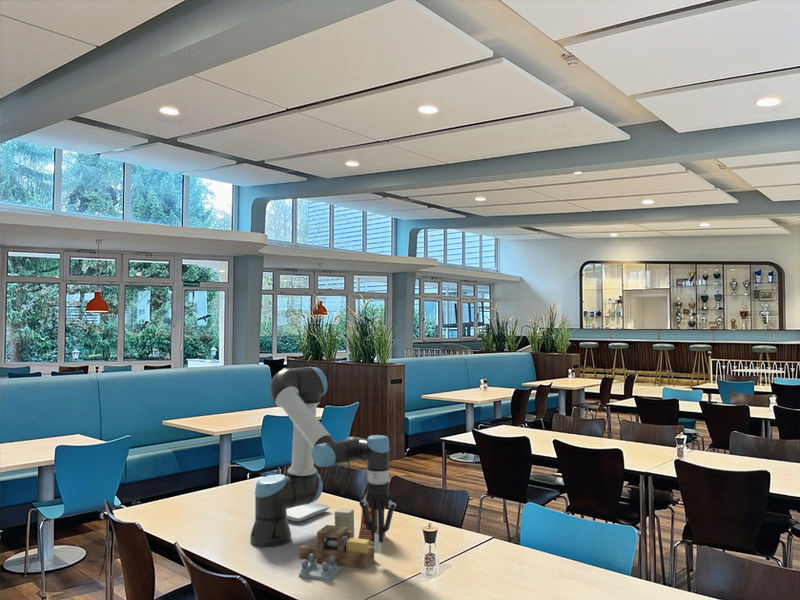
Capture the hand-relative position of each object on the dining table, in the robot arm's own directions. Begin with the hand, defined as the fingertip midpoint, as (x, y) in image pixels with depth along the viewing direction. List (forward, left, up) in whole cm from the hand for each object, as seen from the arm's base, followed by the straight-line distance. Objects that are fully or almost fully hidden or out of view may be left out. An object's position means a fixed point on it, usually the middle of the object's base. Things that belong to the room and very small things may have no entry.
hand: (377, 551), depth 216 cm
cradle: (-16, -13, -5) cm, 21 cm away
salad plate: (-52, +43, -5) cm, 67 cm away
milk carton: (-11, +24, -5) cm, 27 cm away
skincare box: (-19, +16, -5) cm, 25 cm away
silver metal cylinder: (-16, 0, -1) cm, 16 cm away
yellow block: (-7, 0, -1) cm, 7 cm away
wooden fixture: (-16, 0, -5) cm, 16 cm away
